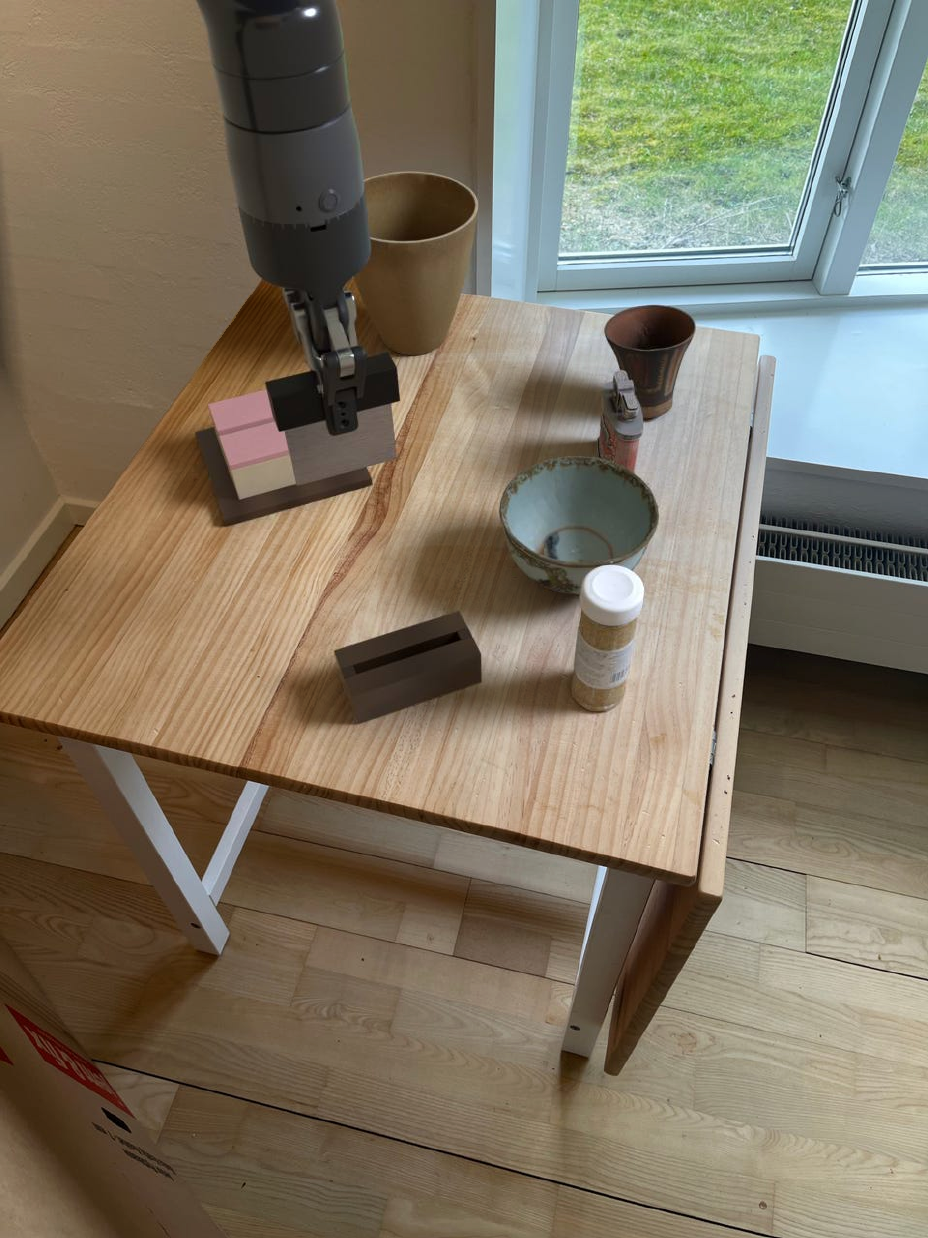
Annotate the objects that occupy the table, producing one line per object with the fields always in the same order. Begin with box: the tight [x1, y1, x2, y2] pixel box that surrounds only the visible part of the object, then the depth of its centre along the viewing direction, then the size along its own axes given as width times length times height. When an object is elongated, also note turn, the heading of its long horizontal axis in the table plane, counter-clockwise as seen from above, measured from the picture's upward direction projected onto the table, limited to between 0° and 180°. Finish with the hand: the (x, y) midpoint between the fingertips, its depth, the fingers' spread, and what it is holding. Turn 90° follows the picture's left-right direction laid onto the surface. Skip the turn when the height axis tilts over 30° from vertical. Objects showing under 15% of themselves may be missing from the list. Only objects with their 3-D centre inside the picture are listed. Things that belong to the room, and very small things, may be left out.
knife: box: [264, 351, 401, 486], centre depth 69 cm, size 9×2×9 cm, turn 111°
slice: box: [207, 389, 275, 464], centre depth 97 cm, size 11×4×4 cm, turn 112°
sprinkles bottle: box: [570, 565, 645, 712], centre depth 74 cm, size 5×5×14 cm
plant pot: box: [352, 171, 479, 356], centre depth 104 cm, size 15×15×16 cm
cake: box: [219, 422, 296, 500], centre depth 93 cm, size 11×4×4 cm, turn 112°
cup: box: [603, 304, 697, 419], centre depth 98 cm, size 9×9×10 cm
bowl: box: [498, 455, 660, 595], centre depth 84 cm, size 14×13×8 cm
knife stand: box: [333, 610, 483, 725], centre depth 78 cm, size 11×5×4 cm, turn 112°
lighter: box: [595, 369, 644, 474], centre depth 92 cm, size 8×3×10 cm, turn 6°
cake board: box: [194, 426, 373, 527], centre depth 97 cm, size 15×14×1 cm
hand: (338, 418), depth 69 cm, fingers closed on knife, 2 cm apart
